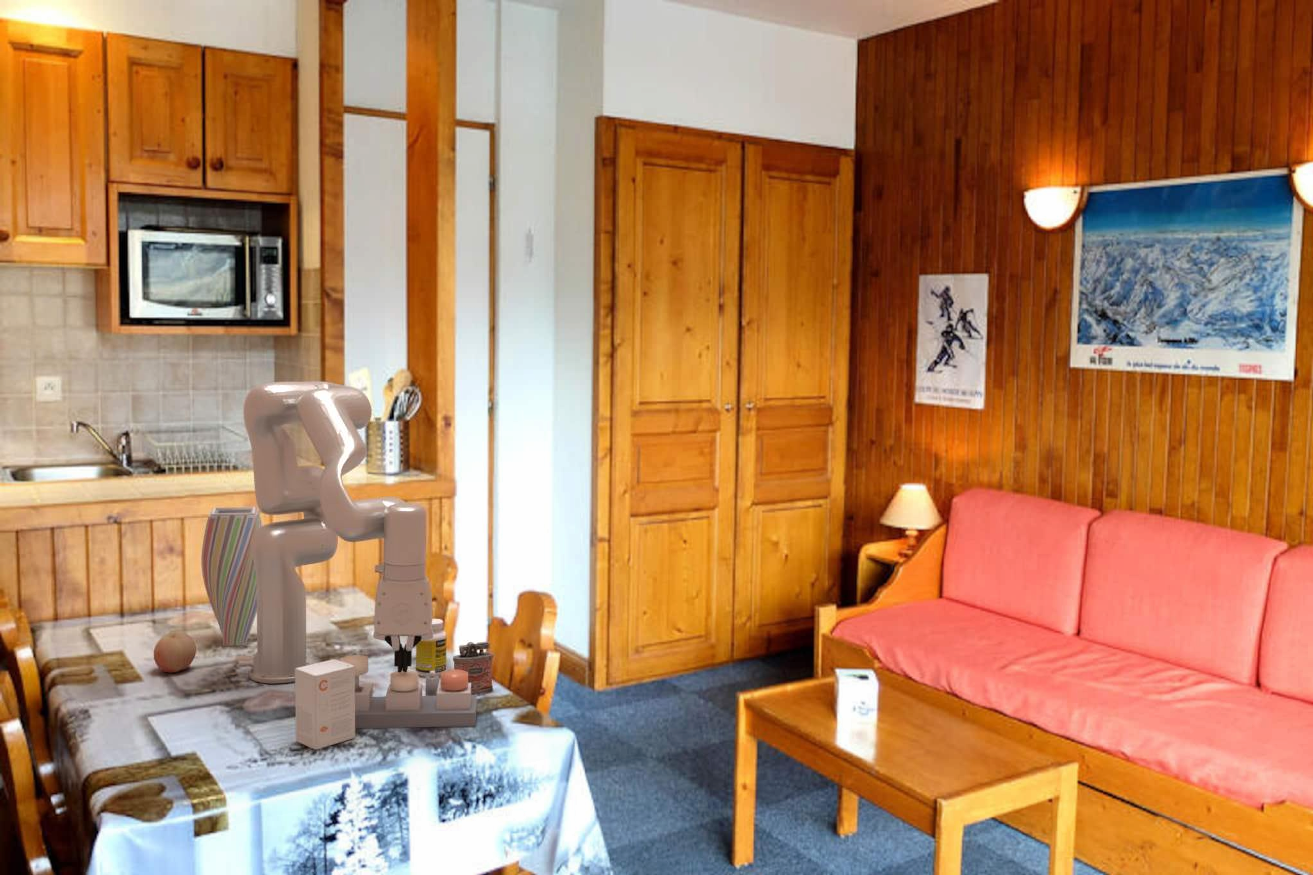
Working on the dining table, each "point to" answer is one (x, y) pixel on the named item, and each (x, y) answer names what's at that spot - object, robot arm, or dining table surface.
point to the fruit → (174, 651)
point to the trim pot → (431, 684)
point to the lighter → (476, 666)
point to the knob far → (454, 680)
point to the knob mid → (404, 680)
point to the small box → (325, 703)
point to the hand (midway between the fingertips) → (402, 669)
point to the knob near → (357, 665)
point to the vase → (231, 570)
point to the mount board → (414, 708)
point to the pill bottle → (432, 651)
